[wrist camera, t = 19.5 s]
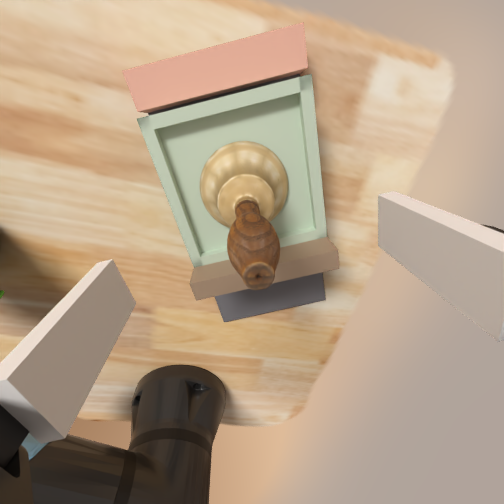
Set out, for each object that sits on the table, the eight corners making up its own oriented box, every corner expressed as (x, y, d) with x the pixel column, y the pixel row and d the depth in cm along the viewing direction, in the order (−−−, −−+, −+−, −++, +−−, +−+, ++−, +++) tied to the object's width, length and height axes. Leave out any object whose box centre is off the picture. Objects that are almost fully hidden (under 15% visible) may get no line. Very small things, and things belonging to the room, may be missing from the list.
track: (324, 298, 37) (332, 313, 34) (224, 320, 38) (223, 337, 35) (294, 35, 23) (303, 22, 20) (136, 77, 24) (122, 70, 21)
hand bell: (180, 185, 24) (103, 280, 9) (248, 118, 22) (278, 113, 7) (241, 244, 27) (250, 383, 13) (304, 191, 25) (401, 286, 11)
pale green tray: (314, 233, 32) (339, 268, 24) (204, 259, 32) (196, 300, 25) (296, 83, 24) (324, 66, 17) (155, 119, 25) (122, 118, 18)
